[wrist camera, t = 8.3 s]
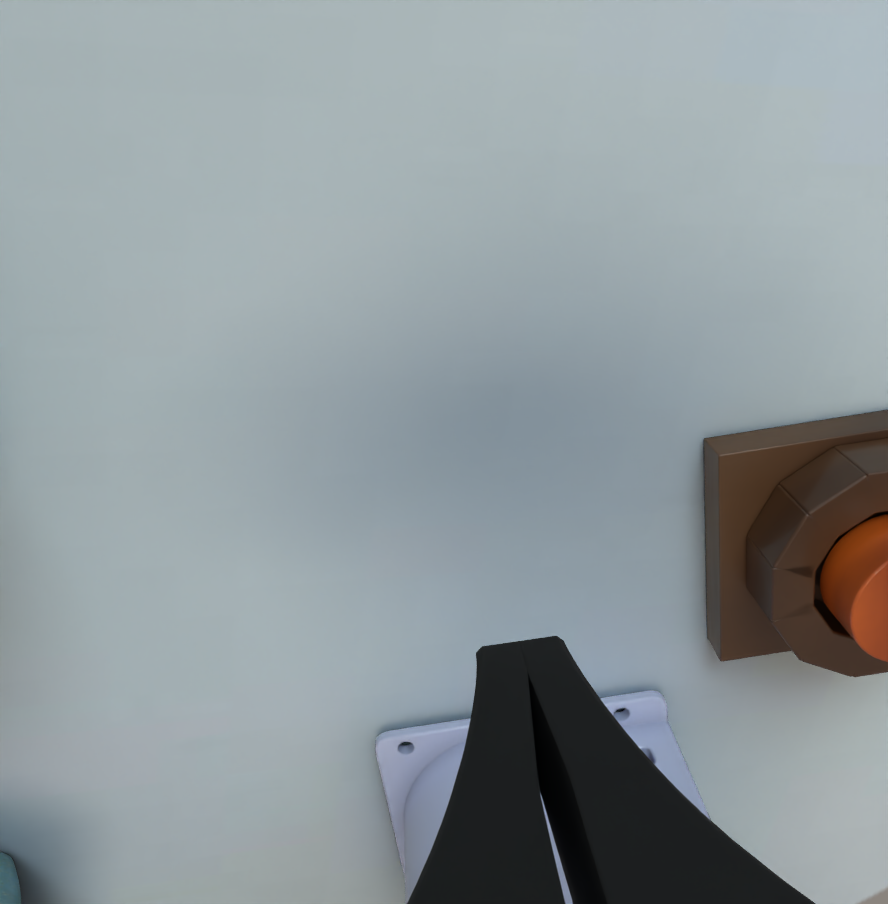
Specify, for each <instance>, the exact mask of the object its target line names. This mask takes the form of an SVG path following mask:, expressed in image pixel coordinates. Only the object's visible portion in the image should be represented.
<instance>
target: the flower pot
mask: <svg viewBox="0 0 888 904" xmlns="http://www.w3.org/2000/svg"><path fill="white" fill-rule="evenodd" d="M0 904H21V892H20V886H19V880H18V876H17V872H16V869H15V865H14V862H13V860H12V858H11V857H10V856H9V855H7V854H5V853H2V852H0Z"/></svg>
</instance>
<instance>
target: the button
mask: <svg viewBox="0 0 888 904" xmlns="http://www.w3.org/2000/svg"><path fill="white" fill-rule="evenodd" d="M820 590H821V595H822V598H823V601H824V603H825V605H826V606H827V608H828V609H829V610H830V612H831V613H832V614H833V615H834V616H835V618H836V619H837V620H838V621H839V622H840V624H841V625H842V626H843V627H844V628H845V630H846V631H847V632H848V633H849V634H850V636H851V637H852V638H853V639H854V640H855V642H856V643H857V644H858V645H859V646H860V648H861V649H862V650H864V651H865V652H866V653H867V654H869V655H871V656H872V657H874V658H877V659H879V660H882V661H886V662H888V514H884V515H880V516H877V517H874V518H871V519H869V520H867V521H864V522H863V523H861V524H859V525H857V526H856V527H854V528H853V529H851V530H850V531H849V532H847V533H846V534H845V535H844V536H843V537H842V538H841V539H840V540H839V541H838V542H837V543H836V544H835V545H834V547H833V548H832V549H831V551H830V552H829V554H828V556H827V558H826V560H825V562H824V564H823V567H822V571H821V576H820Z"/></svg>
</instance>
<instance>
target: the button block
mask: <svg viewBox="0 0 888 904" xmlns="http://www.w3.org/2000/svg"><path fill="white" fill-rule="evenodd" d="M704 469H705V526H706V584H707V638H708V640H709V642H710V643H711V645H712V647H713V649H714V650H715V652H716V654H717V656H718V657H719V659H720V661H728V660H734V659H741V658H747V657H754V656H760V655H766V654H773V653H779V652H786V651H793V652H794V654H795V655H796V656H797V658H798V659H799V660H802V661H803V662H806V663H809V664H812V665H815V666H819V667H822V668H825V669H828V670H831V671H834V672H838V673H841V674H844V675H847V676H850V677H851V676H853V677H859V676H865V675H872V674H878V673H885V672H888V662H886V661H882V660H879V659H877V658H874V657H872V656H871V655H869V654H867V653H866V652H865V651H864V650H862V649H861V648H860V646H859V645H858V644H857V643H856V642H855V640H854V639H853V638H852V637H851V636H850V634H849V633H848V632H847V631H846V630H845V628H844V627H843V626H842V625H841V624H840V622H839V621H838V620H837V619H836V618H835V616H834V615H833V614H832V613H831V612H830V610H829V609H828V608H827V606H826V605H825V603H824V601H823V598H822V595H821V590H820V576H821V571H822V567H823V564H824V562H825V560H826V558H827V556H828V554H829V552H830V551H831V549H832V548H833V547H834V545H835V544H836V543H837V542H838V541H839V540H840V539H841V538H842V537H843V536H844V535H845V534H846V533H847V532H849V531H850V530H851V529H853V528H854V527H856V526H857V525H859V524H861V523H863V522H864V521H867V520H869V519H871V518H874V517H877V516H880V515H884V514H888V410H883V411H877V412H871V413H864V414H858V415H851V416H845V417H839V418H832V419H826V420H819V421H813V422H807V423H800V424H794V425H787V426H781V427H775V428H768V429H762V430H756V431H749V432H743V433H736V434H730V435H724V436H717V437H711V438H705V439H704Z"/></svg>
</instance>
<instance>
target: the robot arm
mask: <svg viewBox="0 0 888 904" xmlns="http://www.w3.org/2000/svg"><path fill="white" fill-rule="evenodd" d="M476 659H477V677H476V688H475V696H474V703H473V709H472V715H471V718H468V719H461V720H455V721H449V722H442V723H436V724H429V725H423V726H416V727H410V728H403V729H397V730H391V731H386V732H383V733H381V734H380V735H379V736H378V737H377V739H376V740H375V753H376V757H377V762H378V766H379V770H380V775H381V779H382V783H383V787H384V792H385V796H386V800H387V804H388V809H389V813H390V817H391V822H392V826H393V830H394V834H395V839H396V843H397V847H398V851H399V856H400V860H401V864H402V868H403V873H404V877H405V903H406V904H815V903H814V902H813V901H811V900H810V899H808V898H807V897H806V896H804V895H803V894H801V893H800V892H799V891H797V890H796V889H795V888H793V887H792V886H790V885H789V884H788V883H786V882H785V881H783V880H782V879H781V878H780V877H778V876H777V875H776V874H775V873H773V872H772V871H771V870H770V869H768V868H767V867H766V866H765V865H763V864H762V863H761V862H760V861H758V860H757V859H756V858H755V857H753V856H752V855H751V854H750V853H748V852H747V851H746V850H745V849H743V848H742V847H741V846H740V845H738V844H737V843H736V842H735V841H733V840H732V839H731V838H730V837H729V836H728V835H726V834H725V833H724V832H723V831H722V830H721V829H720V828H719V827H718V826H716V825H715V824H714V823H713V822H712V821H711V819H710V817H709V814H708V812H707V810H706V807H705V805H704V803H703V801H702V798H701V796H700V794H699V791H698V789H697V787H696V784H695V782H694V780H693V778H692V775H691V773H690V771H689V768H688V766H687V764H686V761H685V759H684V757H683V755H682V752H681V750H680V748H679V745H678V743H677V741H676V738H675V736H674V734H673V732H672V729H671V727H670V725H669V722H668V707H667V703H666V701H665V698H664V696H663V695H662V694H661V693H660V692H658V691H655V690H648V691H642V692H635V693H629V694H622V695H616V696H610V697H603V698H599V697H598V695H597V694H596V692H595V691H594V690H593V688H592V687H591V685H590V684H589V682H588V681H587V679H586V678H585V677H584V675H583V673H582V672H581V670H580V669H579V667H578V666H577V664H576V662H575V661H574V659H573V657H572V656H571V654H570V652H569V650H568V649H567V647H566V645H565V643H564V641H563V640H562V639H560V638H559V637H557V636H552V637H545V638H538V639H531V640H524V641H517V642H510V643H503V644H496V645H489V646H482V647H481V648H480V649H479V650H478V651H477V653H476ZM620 708H626V709H625V710H624V711H622V712H619V713H617V712H615V711H616V710H618V709H620ZM403 742H410V743H411V744H410V745H401V744H400V743H403Z"/></svg>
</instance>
